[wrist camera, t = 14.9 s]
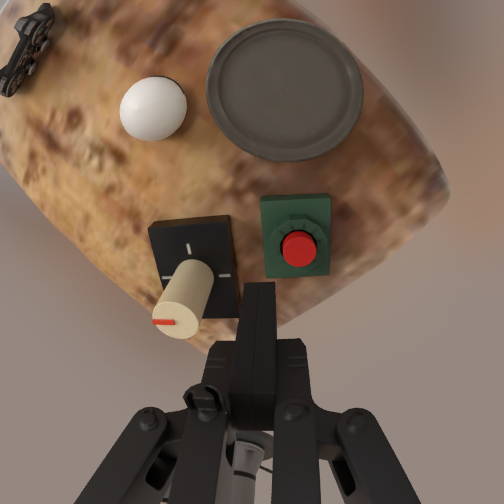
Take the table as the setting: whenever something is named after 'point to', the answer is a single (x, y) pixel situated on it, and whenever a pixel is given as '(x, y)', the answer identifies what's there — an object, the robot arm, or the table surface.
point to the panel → (200, 257)
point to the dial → (184, 300)
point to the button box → (296, 219)
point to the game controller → (26, 48)
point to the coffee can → (284, 90)
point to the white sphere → (153, 108)
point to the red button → (299, 249)
